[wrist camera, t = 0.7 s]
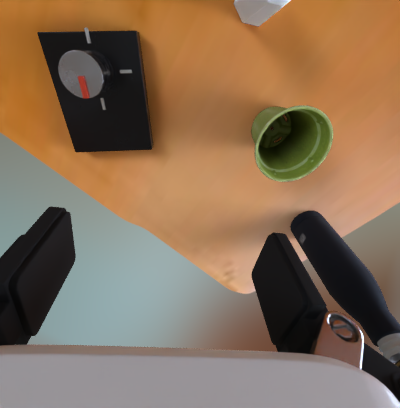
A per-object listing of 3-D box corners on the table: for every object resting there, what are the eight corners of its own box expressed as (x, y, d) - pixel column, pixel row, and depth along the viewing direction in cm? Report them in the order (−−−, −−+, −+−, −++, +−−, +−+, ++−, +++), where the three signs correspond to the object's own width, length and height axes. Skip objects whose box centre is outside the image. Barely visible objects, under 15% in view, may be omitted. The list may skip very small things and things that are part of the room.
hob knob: (71, 50, 27) (50, 50, 23) (110, 50, 27) (96, 49, 23) (82, 92, 29) (65, 99, 25) (118, 91, 30) (106, 98, 25)
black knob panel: (44, 30, 28) (34, 28, 26) (138, 28, 28) (135, 27, 26) (80, 147, 35) (74, 152, 33) (153, 145, 36) (151, 150, 34)
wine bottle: (325, 228, 47) (486, 428, 22) (294, 240, 48) (414, 442, 23) (319, 205, 44) (502, 408, 19) (286, 218, 45) (417, 426, 20)
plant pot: (312, 131, 36) (344, 151, 29) (260, 168, 39) (278, 194, 32) (284, 78, 32) (314, 86, 25) (228, 124, 35) (240, 143, 27)
